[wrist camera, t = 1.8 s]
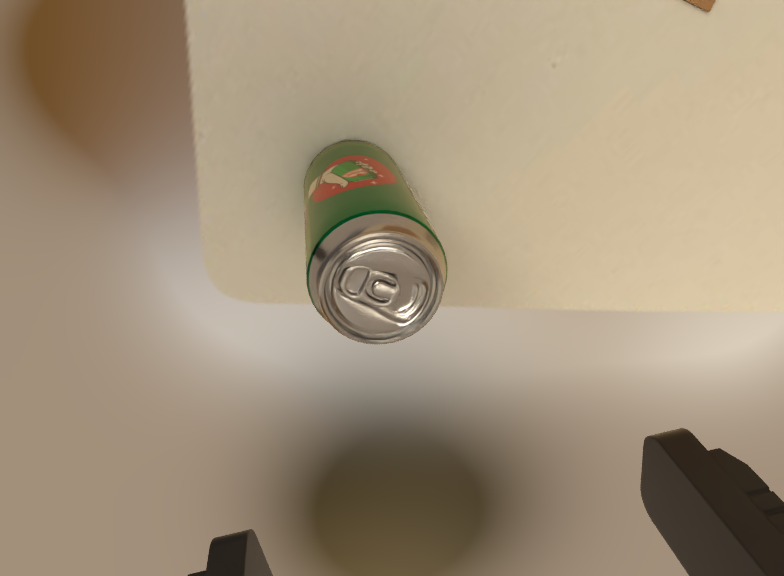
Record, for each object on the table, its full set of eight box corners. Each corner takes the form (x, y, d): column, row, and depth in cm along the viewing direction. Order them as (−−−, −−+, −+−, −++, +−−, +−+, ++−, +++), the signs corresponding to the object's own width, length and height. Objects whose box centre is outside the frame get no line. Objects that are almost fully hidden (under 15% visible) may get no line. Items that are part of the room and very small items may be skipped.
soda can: (376, 243, 32) (416, 369, 21) (289, 211, 30) (284, 330, 19) (415, 160, 30) (480, 252, 19) (325, 121, 28) (341, 198, 18)
